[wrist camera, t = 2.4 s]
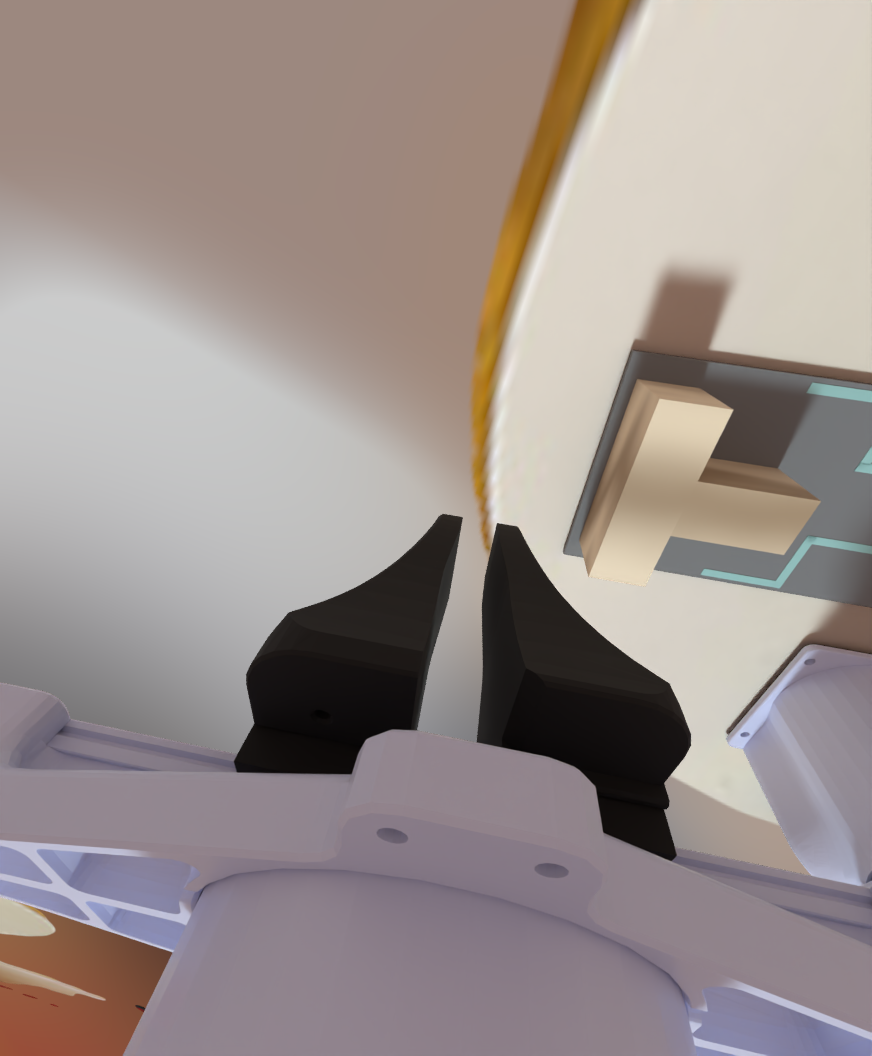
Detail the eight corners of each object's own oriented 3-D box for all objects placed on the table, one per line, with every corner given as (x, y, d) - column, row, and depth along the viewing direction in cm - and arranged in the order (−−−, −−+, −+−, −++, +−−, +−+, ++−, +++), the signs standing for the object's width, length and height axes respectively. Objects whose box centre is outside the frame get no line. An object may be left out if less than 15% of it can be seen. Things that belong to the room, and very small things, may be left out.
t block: (719, 564, 21) (748, 605, 18) (579, 540, 21) (588, 576, 19) (816, 405, 17) (870, 430, 14) (637, 379, 17) (659, 398, 15)
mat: (869, 604, 21) (874, 608, 21) (563, 550, 22) (563, 554, 22) (1046, 409, 16) (1055, 411, 16) (632, 349, 17) (633, 351, 17)
